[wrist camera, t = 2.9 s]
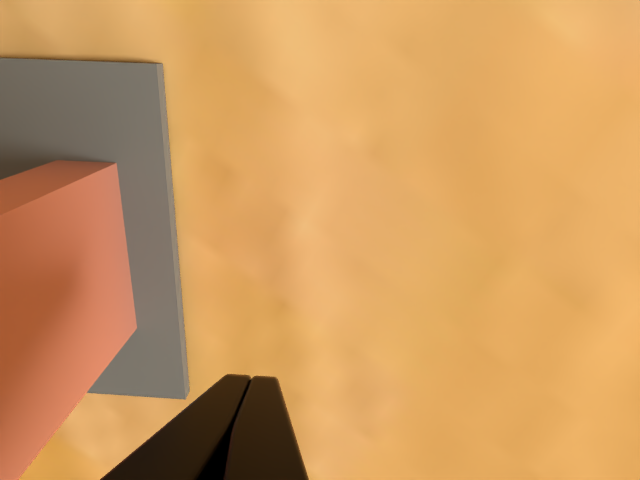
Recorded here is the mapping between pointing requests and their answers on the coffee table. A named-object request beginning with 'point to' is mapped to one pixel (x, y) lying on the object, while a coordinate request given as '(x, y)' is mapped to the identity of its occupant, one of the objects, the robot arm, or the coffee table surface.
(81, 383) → the domino
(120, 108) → the mat
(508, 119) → the coffee table surface
